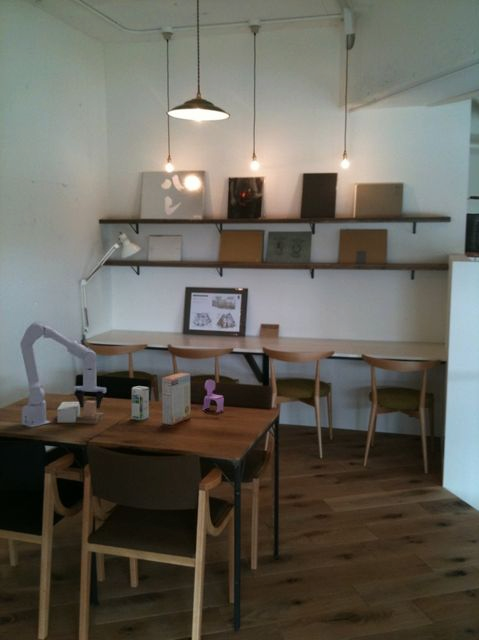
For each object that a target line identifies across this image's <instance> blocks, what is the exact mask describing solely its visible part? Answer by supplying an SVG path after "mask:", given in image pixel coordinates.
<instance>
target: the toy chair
mask: <svg viewBox="0 0 479 640" xmlns="http://www.w3.org/2000/svg"><path fill="white" fill-rule="evenodd" d="M204 389H205V390H206V393H207V394H206V396H204V399H203V407H202V409H201V411H202V410H204V411H206V410H205V409H207V408H209V407H211V406H210V405H211V401H215V402H216V406H217V407H216V408H217V409H216V412H219V411H221V410H223V411H224V403H225V402H224V401H225V399H224V396H223V395H220V394H215V393H213V391H214V390H216V381H215V380H213V379H207V380H206V381H205V383H204ZM207 410H208V409H207ZM216 412H215V413H216ZM219 413H220V412H219Z"/></svg>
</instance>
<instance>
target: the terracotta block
mask: <svg viewBox="0 0 479 640" xmlns="http://www.w3.org/2000/svg"><path fill="white" fill-rule="evenodd" d="M96 403H97V402H96V400H86V401H85V402H84V407H83V413H84V416H90V417H93V416H94V415H96V413H97V407H96Z"/></svg>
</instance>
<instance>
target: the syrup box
mask: <svg viewBox="0 0 479 640" xmlns="http://www.w3.org/2000/svg"><path fill="white" fill-rule="evenodd" d="M149 399H150V387H149V386H141V385H137V386H133V387H131V419H132V420H136V421H144V420H147V419H149V417H150V415H149V414H150V413H149V411H150V409H149V408H150V406H149V405H150V400H149Z"/></svg>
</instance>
